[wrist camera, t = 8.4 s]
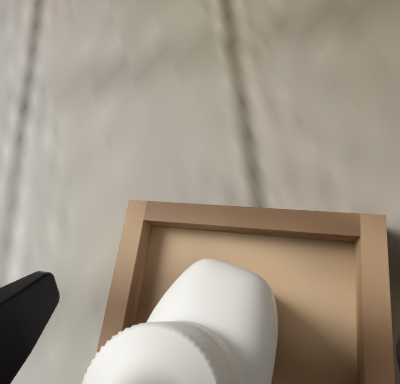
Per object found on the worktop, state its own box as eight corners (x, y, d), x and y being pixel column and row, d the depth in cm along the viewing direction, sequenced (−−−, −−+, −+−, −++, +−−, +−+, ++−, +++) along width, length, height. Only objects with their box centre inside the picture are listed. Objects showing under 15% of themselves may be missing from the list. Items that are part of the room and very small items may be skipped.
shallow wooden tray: (390, 556, 11) (406, 591, 10) (89, 466, 14) (68, 482, 13) (375, 224, 15) (385, 215, 14) (141, 209, 18) (129, 200, 17)
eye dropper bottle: (318, 345, 14) (460, 453, 3) (220, 439, 13) (-33, 966, 3) (247, 267, 16) (172, 155, 5) (159, 349, 15) (-145, 432, 4)
